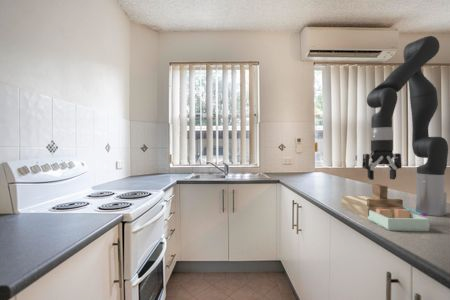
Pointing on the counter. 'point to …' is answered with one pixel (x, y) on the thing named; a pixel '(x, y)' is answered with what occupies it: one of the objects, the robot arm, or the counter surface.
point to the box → (400, 222)
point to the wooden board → (362, 205)
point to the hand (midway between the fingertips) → (381, 179)
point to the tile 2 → (401, 213)
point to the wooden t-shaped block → (382, 198)
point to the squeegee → (414, 211)
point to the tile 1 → (384, 212)
